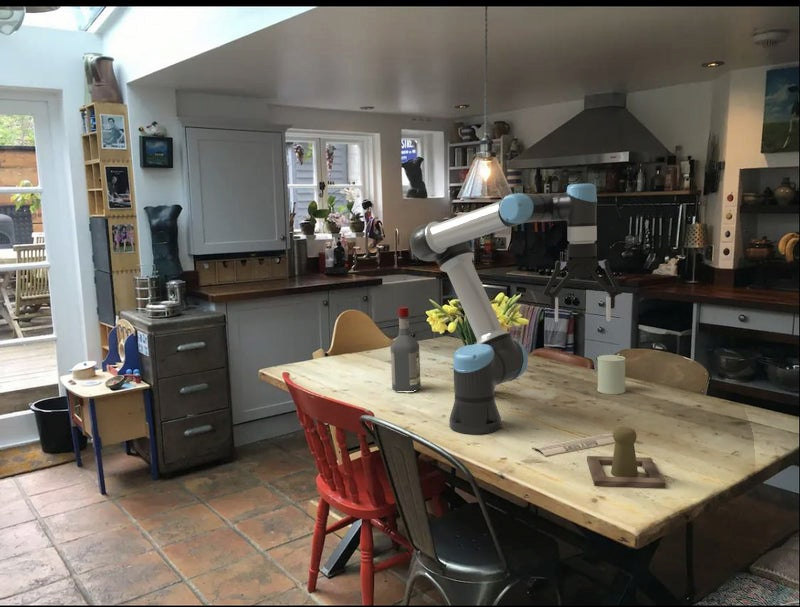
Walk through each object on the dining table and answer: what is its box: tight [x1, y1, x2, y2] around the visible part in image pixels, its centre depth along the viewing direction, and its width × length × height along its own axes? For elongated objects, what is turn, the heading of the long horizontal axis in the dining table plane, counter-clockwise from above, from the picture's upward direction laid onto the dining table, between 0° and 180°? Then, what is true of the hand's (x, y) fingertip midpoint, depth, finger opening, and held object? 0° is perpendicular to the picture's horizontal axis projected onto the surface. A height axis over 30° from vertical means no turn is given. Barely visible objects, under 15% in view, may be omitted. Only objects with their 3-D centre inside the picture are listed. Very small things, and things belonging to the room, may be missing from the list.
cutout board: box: [586, 455, 666, 489], centre depth 149 cm, size 15×15×1 cm
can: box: [596, 354, 626, 395], centre depth 218 cm, size 9×9×12 cm
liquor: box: [390, 306, 422, 391], centre depth 228 cm, size 9×9×30 cm
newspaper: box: [531, 433, 615, 458], centre depth 168 cm, size 24×7×2 cm, turn 111°
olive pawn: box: [610, 426, 639, 478], centre depth 148 cm, size 6×6×11 cm
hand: (582, 321), depth 173 cm, fingers open, 13 cm apart
